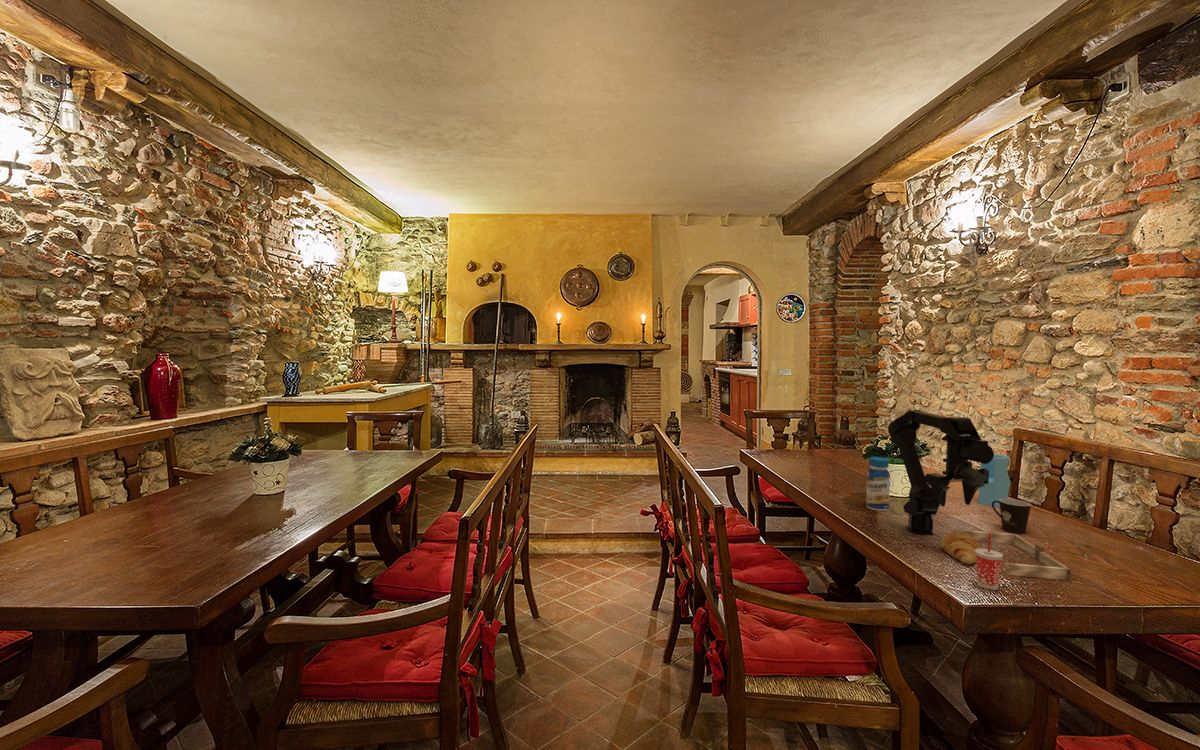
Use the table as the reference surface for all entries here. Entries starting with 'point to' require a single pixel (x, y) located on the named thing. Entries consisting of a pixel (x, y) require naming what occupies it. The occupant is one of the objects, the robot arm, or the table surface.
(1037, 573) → the frame
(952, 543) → the croissant
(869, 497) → the beverage bottle
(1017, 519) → the coffee mug
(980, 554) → the beverage cup
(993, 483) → the vase
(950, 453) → the robot arm
